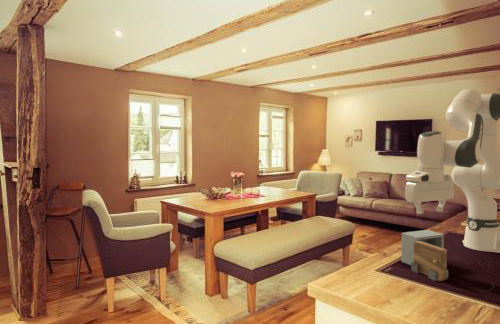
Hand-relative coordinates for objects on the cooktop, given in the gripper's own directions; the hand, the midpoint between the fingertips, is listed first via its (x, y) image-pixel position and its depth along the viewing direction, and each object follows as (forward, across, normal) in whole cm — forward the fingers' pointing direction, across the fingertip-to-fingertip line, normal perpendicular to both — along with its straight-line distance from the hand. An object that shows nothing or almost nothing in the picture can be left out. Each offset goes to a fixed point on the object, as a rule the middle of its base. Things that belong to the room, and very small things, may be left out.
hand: (429, 212), depth 127 cm
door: (+23, 0, 0) cm, 23 cm away
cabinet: (+23, -8, -11) cm, 27 cm away
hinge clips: (+23, 0, 0) cm, 23 cm away
